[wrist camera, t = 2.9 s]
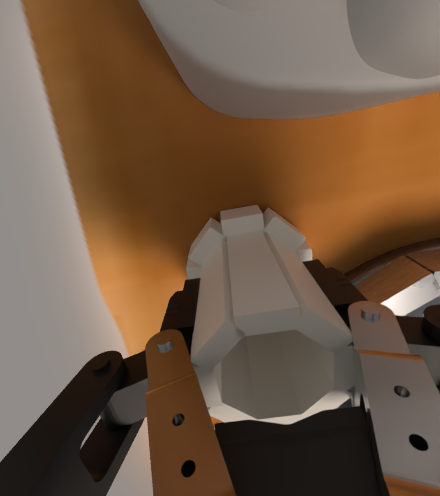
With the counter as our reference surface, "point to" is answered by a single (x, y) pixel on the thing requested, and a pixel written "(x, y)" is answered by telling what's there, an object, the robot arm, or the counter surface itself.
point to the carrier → (401, 280)
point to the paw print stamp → (300, 53)
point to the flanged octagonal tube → (264, 323)
